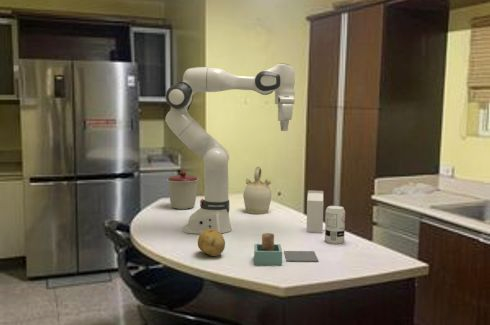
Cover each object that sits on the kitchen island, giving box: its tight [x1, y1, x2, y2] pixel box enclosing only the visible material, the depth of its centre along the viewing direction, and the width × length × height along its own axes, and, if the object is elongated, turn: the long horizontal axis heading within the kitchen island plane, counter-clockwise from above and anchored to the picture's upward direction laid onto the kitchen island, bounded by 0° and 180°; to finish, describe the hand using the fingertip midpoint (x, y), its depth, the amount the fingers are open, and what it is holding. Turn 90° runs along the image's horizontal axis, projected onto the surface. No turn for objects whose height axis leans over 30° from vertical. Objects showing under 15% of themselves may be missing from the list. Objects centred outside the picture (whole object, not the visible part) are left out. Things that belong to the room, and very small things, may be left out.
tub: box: [253, 243, 283, 266], centre depth 182 cm, size 10×10×5 cm
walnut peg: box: [261, 232, 275, 251], centre depth 182 cm, size 4×4×10 cm
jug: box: [242, 166, 272, 215], centre depth 265 cm, size 15×16×25 cm
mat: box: [283, 250, 319, 263], centre depth 187 cm, size 12×12×1 cm
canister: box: [166, 170, 200, 210], centre depth 275 cm, size 18×18×21 cm
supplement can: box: [324, 205, 346, 245], centre depth 208 cm, size 8×8×15 cm
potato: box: [197, 229, 226, 257], centre depth 189 cm, size 10×12×10 cm
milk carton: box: [306, 190, 324, 234], centre depth 226 cm, size 7×7×19 cm
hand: (284, 130), depth 219 cm, fingers open, 8 cm apart
